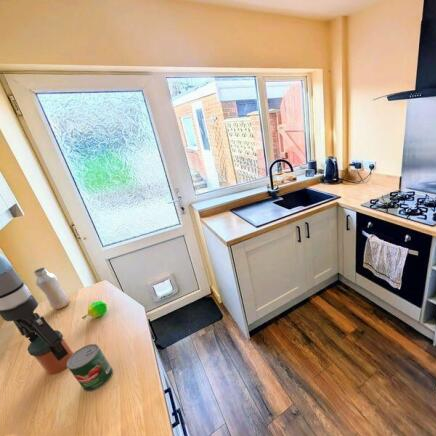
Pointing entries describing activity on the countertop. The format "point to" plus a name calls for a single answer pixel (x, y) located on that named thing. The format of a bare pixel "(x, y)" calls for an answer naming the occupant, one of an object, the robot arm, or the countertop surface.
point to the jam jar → (54, 360)
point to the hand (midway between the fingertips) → (53, 352)
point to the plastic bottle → (51, 288)
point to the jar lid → (40, 346)
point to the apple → (96, 309)
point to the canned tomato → (90, 367)
